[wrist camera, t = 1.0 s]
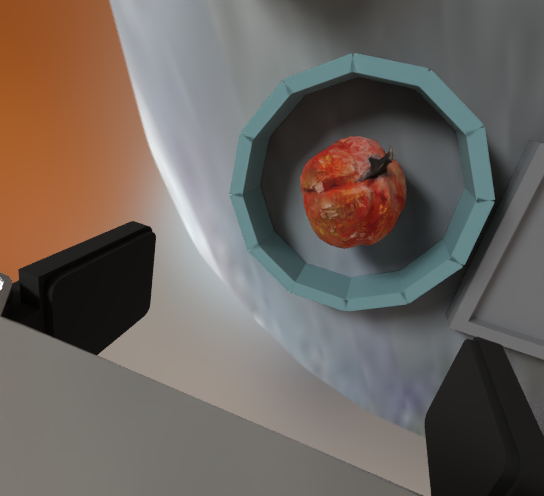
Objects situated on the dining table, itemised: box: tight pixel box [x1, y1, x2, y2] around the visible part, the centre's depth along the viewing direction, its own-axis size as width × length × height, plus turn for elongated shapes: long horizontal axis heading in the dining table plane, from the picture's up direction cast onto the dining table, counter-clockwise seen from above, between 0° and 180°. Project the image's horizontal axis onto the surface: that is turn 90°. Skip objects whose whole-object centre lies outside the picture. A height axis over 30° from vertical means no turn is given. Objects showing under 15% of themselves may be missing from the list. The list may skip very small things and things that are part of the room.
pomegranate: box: [300, 136, 407, 249], centre depth 26 cm, size 7×7×10 cm
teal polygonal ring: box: [230, 53, 495, 312], centre depth 27 cm, size 17×17×4 cm
